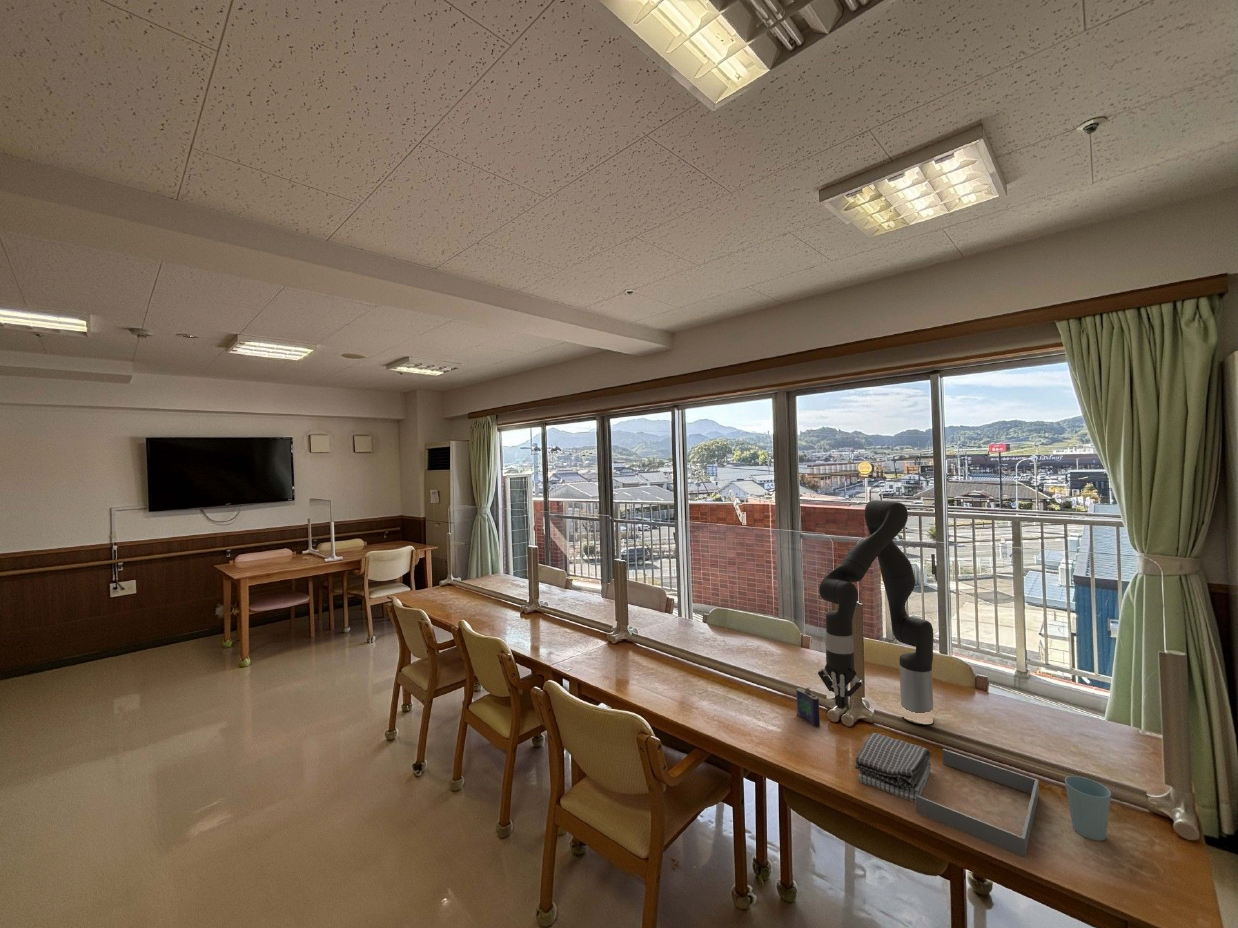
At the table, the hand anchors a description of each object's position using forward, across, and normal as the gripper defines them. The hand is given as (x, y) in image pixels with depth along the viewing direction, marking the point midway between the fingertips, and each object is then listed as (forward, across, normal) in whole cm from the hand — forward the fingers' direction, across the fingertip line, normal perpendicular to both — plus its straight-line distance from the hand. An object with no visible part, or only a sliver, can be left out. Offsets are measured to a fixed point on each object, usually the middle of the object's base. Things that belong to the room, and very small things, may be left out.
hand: (841, 707), depth 145 cm
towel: (+15, -14, 0) cm, 20 cm away
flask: (+14, +16, -13) cm, 25 cm away
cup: (+14, -52, -7) cm, 54 cm away
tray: (+14, -32, -2) cm, 35 cm away
